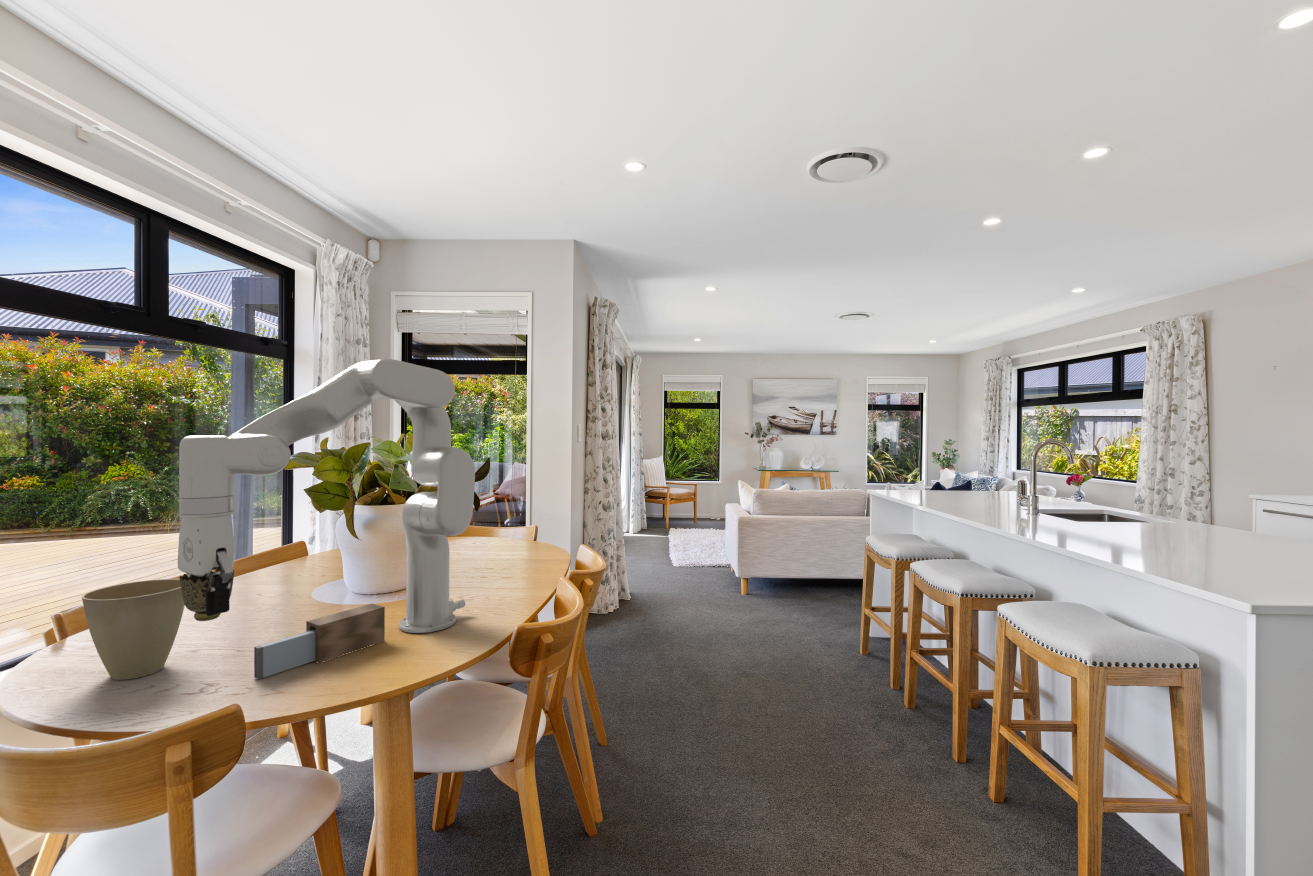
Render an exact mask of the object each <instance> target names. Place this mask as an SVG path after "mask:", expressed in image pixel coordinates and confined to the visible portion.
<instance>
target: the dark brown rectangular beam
mask: <svg viewBox="0 0 1313 876" xmlns="http://www.w3.org/2000/svg"><path fill="white" fill-rule="evenodd" d="M385 611H386V608H385V606H383V605H380V604H375V603H369V604H365V605H362V606H358V607H353V608H350V609H348V610H347V609H346V610H343V611H339V612H337V613H331V614H329V615H324V616H321V617H317V618H314V619H309V620H306V622H305V623H306V627H305V628H306V631H305V632H308V631H311V630H315V629H316V660H315V663H316V662H318V663H320V664H322V663H321V662H323V661H326V662H328V661H327V660H329V659H332V658H335V657H338V656H340V657H342V656H341V655H343V654H346V653H349V652H352V651H355V650H358V649H361V648H364V647H367V646H370V645H373V644H376V645H378V644H377V643H379V644H381V643H380V642H382V643H384V642H383V641H385V634H386V631H385V630H386V629H385V628H386V627H385V626H386V625H385V624H386V620H385V616H386V615H385V613H386V612H385ZM373 646H374V645H373ZM370 647H371V646H370ZM367 648H368V647H367ZM364 649H365V648H364ZM361 650H362V649H361ZM358 651H359V650H358ZM355 652H356V651H355ZM352 653H353V652H352ZM349 654H350V653H349ZM346 655H347V654H346ZM343 656H344V655H343ZM338 658H339V657H338ZM335 659H336V658H335ZM332 660H333V659H332ZM329 661H330V660H329ZM318 663H317V664H318ZM323 663H324V662H323Z"/></svg>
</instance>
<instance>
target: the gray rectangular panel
mask: <svg viewBox="0 0 1313 876" xmlns="http://www.w3.org/2000/svg"><path fill="white" fill-rule="evenodd" d="M253 652H254V653H253V655H254V656H253V657H254V660H253V663H254V664H253V665H254V666H253V667H254V668H253V669H254V670H253V671H254V672H253V673H254V674H253V676H254V677H253V678H255V679H256V680H260V679H264V678H266V677H270V676H273V675H275V674H278V673H281V672H284V671H288V670H291V669H295V668H297V667H300V666H303V665H307V664H309V663H311V662H316V629H315V630H311V631H308V632H306V631H305V632H302V633H298V634H294V635H291V636H288V637H287V636H286V637H284V638H281V639H278V640H277V639H276V640H274V641H270V642H267V643H263V644H259V645H255V646H254V651H253Z"/></svg>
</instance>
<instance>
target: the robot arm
mask: <svg viewBox="0 0 1313 876" xmlns="http://www.w3.org/2000/svg"><path fill="white" fill-rule="evenodd" d="M455 393H456V388H455V383H454V381H453V379H452V378H451V377H450V376H449V374H447V373H446V372H444V371H442V370H440V369H436V368H431V367H427V366H423V365H417V364H415V363H410V362H407V361H406V362H405V361H403V360H399V359H398V360H397V359H392V358H379V359H378V358H377V359H368V360H362V361H360V362H356V363H355V364H353V365H351V366H349V367H347V369H346V368H345V370H343V371H341V372H340V373H338V374H336V375H335V376H333V377H332V378H330V379H329V380H327V381H326V382H324V383H322V384H321V385H319V386H317V387H316V388H314V389H313V390H311V391H309V392H308V393H306V394H304V395H302V396H299V397H298V398H296V399H294V400H291V401H290V402H288V403H286V404H284V405H282V406H279V407H278V408H275V409H274V410H271V411H270V412H268V413H266V414H264V415H262V416H260V417H258V418H257V419H254V420H253V421H252V422H250V423H248V424H246V425H245V426H244V427H242V428H240V429H239V430H237V431H235V432H234V433H232V434H231V435H229V436H227V435H219V434H218V435H213V434H211V435H209V434H208V435H205V434H204V435H199V434H197V435H187V436H184V437H183V438H182V439H181V440H180V442H179V449H178V450H179V451H178V452H179V457H178V458H179V460H178V461H179V463H178V465H179V468H178V469H179V473H178V474H179V475H178V476H179V477H178V479H179V480H178V481H179V483H178V484H179V488H178V489H179V492H178V493H179V503H178V504H179V505H178V506H179V507H178V508H179V513H178V517H179V518H181V520H180V525H179V533H178V548H177V549H178V551H177V569H178V570H179V571H180V572H183V573H184V574H187V576H188V578H189V577H194V576H198V577H203V576H204V575H206V579H207V585H208V590H209V591H208V592H206V615H208V616H211V615H215V614H220V613H221V614H223V613H224V614H225V613H227V612H229V611H230V599H229V589H230V581H231V576H232V574H233V570H234V562H235V544H234V543H235V540H234V530H233V529H234V528H233V519H232V516H233V515H235V514H236V475H252V476H269V475H270V476H271V475H274V474H275V475H276V474H277V473H279V472H281V471H282V470H284V469H285V468H286V467H287V466H288V465H289V463H290V460H291V457H292V454H291V449H290V447H289V446H291V445H292V444H294V443H297V442H299V441H302V440H303V439H306V438H310V437H313V436H317V435H321V434H325V433H327V432H330V431H334V430H335V429H337V428H339V427H341V426H342V425H343V424H345V423H346V422H348V421H349V420H350V419H352V418H353V417H355V415H357V414H359V413H360V412H362V411H363V410H365V409H366V408H367V407H369V406H371V405H372V404H373V403H375V402H376V401H379V400H394V402H396V403H397V404H398V405H399V406H400V407H401V408H402V409H403V410H404V411H405V413H406V414H407V415H408V417H409V419H410V421H411V425H412V434H413V435H412V451H411V454H412V455H411V468H410V469H411V476H412V479H413V480H414V481H415V482H416V483H418V484H419V485H423V486H425V487H433V488H434V487H435V488H437V490H436V491H435V492H434V491H421V492H417V493H415V494H412V495H411V496H410V497H409V498H408V499H407V500H406V501H405V503H404V504H403V507H402V512H401V515H402V516H401V517H402V518H401V519H402V526H403V528H404V529H403V530H404V534H405V535H404V536H405V546H406V547H405V548H406V559H405V560H406V563H405V565H406V566H405V567H406V568H405V569H406V578H405V579H406V582H405V583H406V591H405V592H406V593H405V595H406V596H405V597H406V598H405V599H406V602H405V603H406V605H405V606H406V607H405V609H406V610H405V612H406V615H405V617H404V618H402V619H401V620H400V621H399V622H398V628H399V630H400V631H402V632H405V633H413V634H423V633H424V634H425V633H433V632H438V631H442V630H445V629H448V628H450V627H451V626H452V627H453V625H454V624H456V622H457V616H456V614H454V612H455V611H456V610H459V609H463V608H465V606H466V601H465V600H464V599H460V600H457V601H454V600H453V599H452V600H450V543H449V539H448V537H455V536H459V535H461V534H462V533H464V532H466V530H467V529H468V527H469V525H470V524H471V521H472V517H473V511H474V500H475V486H476V485H475V484H476V483H475V481H476V468H475V464H474V461H473V459H472V456H471V455H470V454H469V452H468V451H466V450H465V449H463V448H460V447H455V446H452V424H451V419H450V417H449V414H448V412H447V410H446V409H445V406H446V407H447V405H449V404H450V403H451V402H452V401H453V399H454V396H455ZM211 570H212V571H213V572H211ZM216 570H220V571H217V572H215V571H216ZM217 576H220V577H217ZM213 577H217V578H216V580H215V582H214V580H213ZM221 614H220V615H221Z"/></svg>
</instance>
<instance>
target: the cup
mask: <svg viewBox="0 0 1313 876" xmlns="http://www.w3.org/2000/svg"><path fill="white" fill-rule="evenodd" d="M217 571H220V570H217V569H216V570H211V572H217ZM217 577H220V576H217ZM217 577H213V580H214V582H215V580H216V578H217ZM234 577H235V569H233V574H232V576H231V581H230V589H229V600H230V599H231V596H232V591H233V586H234ZM179 579H180V584H181V591H182V597H183V601H184V604H185V606H184V607H185V608H186V609H187V610H189V611H190V612H192V613H194V614H193V618H194V620H195V621H197V622H208V621H213V620H216V619H217V618H220V616H221V614H222V613H220V614H215V615H211V616H208V615H206V592H208V591H209V590H208V585H207V579H206V575H204V576H203V577H198V576H194V577H189V578H188V576H187V573H184V574H183V575H179Z"/></svg>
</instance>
